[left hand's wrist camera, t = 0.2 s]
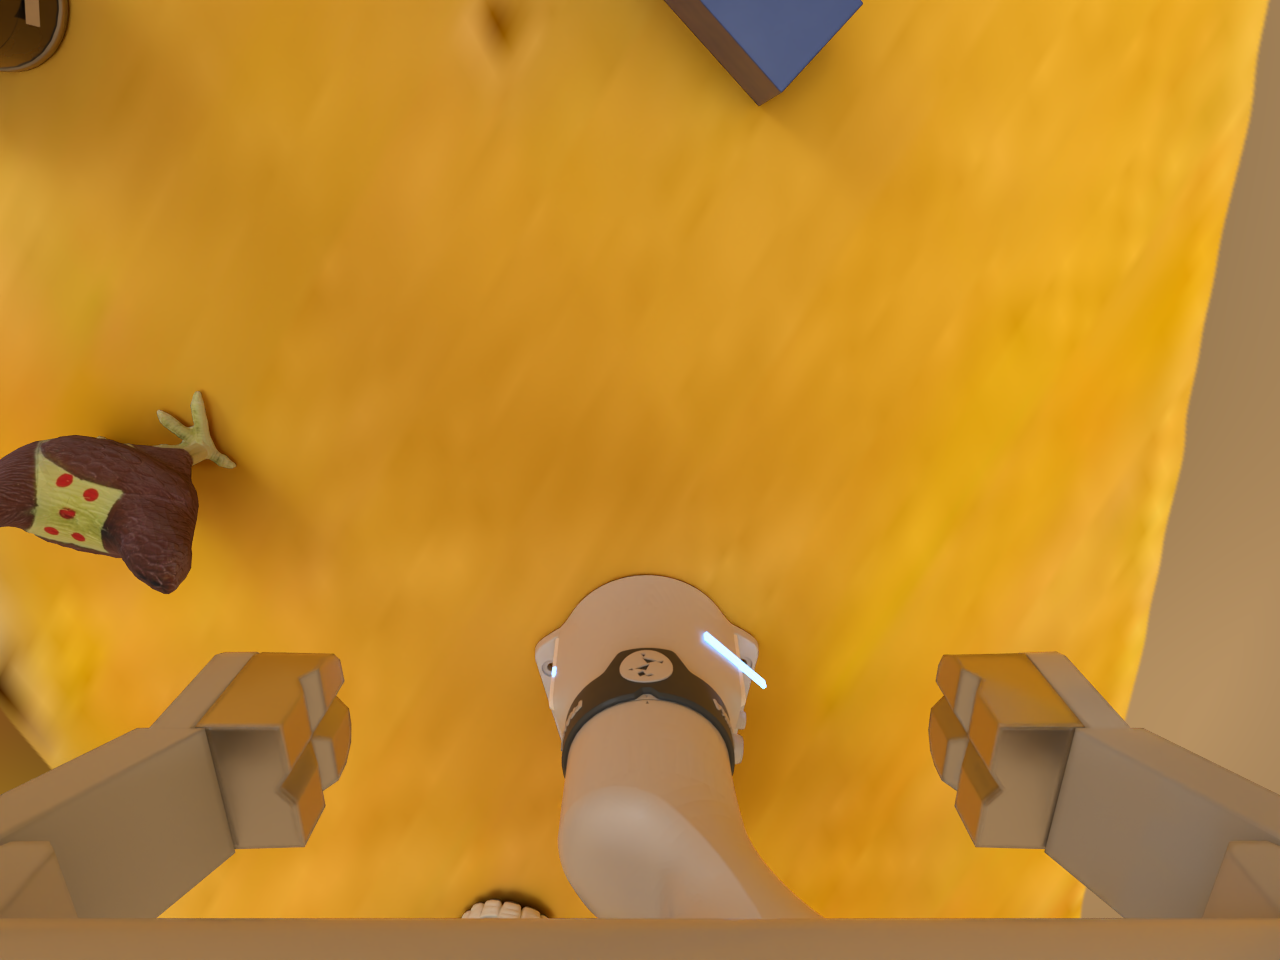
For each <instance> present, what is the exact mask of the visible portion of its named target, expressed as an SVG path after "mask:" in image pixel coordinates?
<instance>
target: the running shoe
mask: <svg viewBox="0 0 1280 960" xmlns="http://www.w3.org/2000/svg"><path fill="white" fill-rule="evenodd" d="M462 918H548V917H547V916H545V915H544V914H540V913H539V912H538V911H537V910H535V909H534V908H532V907H528V906H525V907H524V908H523V909H522V910H521V906H520V905H519V903H517V902H515V901H507V902H504V904H503V906H502V903H501V900H500V899H490V900H488V901H486V902H485V903H483V902H478V903H476V904H475V905H473V906H472V908H471V910H468V911H466V912H465V913H464V914H463V916H462Z"/></svg>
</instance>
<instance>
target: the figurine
mask: <svg viewBox="0 0 1280 960" xmlns="http://www.w3.org/2000/svg"><path fill="white" fill-rule="evenodd" d="M190 406H191V410H192V418H193V422H194V426H192V427H186V426H184V425H183V424H182V423H180V422H179V421H178V420H177V419H175V418H174V417H173V416H171V415H170V414H168V413H166V412H164V411H161V410H158V411H157V416H158V418H159V421H160V423H161V424H162V425H163V426H164V427H166V428H167V429H168V430H170V431H171V432H172V433H174V434H176V435H177V436H178V437H179V438H181V439H182V442H181V443H180V444H179V445H167V444H160V445H156V446H146V445H133V444H122V443H118V442H116V441H113V440H109V439H107V438H105V437H102V436H98V437H97V438H94V437H87V436H79V435H72V436H62V437H58V438H55V439H48V440H43V441H36V442H33V443H30V444H27V445H25V446H23V447H20V448H18V449H16V450H15V451H13V452H11V453H10V454H8V455H6V456H5V457H3V458H2V459H0V527H5V526H11V527H17V528H21V529H23V530H24V531H26V532H29V533H33V534H35V535H36V536H38V537H39V538H41V539H43V540H45V541H47V542H51V543H55V544H58V545H61V546H63V547H69V548H73V549H75V550H77V551H83V552H89V553H94V554H102V555H107V556H111V557H115V558H122V559H123V561H124V562H125V563H126V565H127V567H128V568H129V570H130V571H131V572H132V573H133V574H134V575H135V576H136V577H137V578H138V579H139V580H141V581H143V582H144V583H146V584H147V585H148V586H150V587H151V588H152V589H154V590H157V591H159V592H161V593H163V594H169V593H171V592H173V591H175V590H176V589H177V587H178V586H179V585H180V583H181V582H182V581H183V580H184V579H185V578H186V576H187V574H188V573H189V571H190V569H191V561H192V550H191V548H192V541H193V536H194V530H195V525H196V521H197V513H198V507H199V504H198V497H197V492H196V490H195V488H194V486H193V484H192V480H191V467H192V465H195V464H197V463H199V462H201V461H202V460H204V459H210V460H211V461H213V462H215V463H216V464H217V465H218V466H221V467H225V468H231V469H232V468H234V467H236V464H235V463H234V462H233V461H231V460H230V459H229V458H228V456H226V455H224V454H221V453H220V452H219V451H218V450H217V449H216V447H215V444H214V442H213V440H212V438H211V436H210V432H209V425H208V419H207V416H206V411H205V405H204V401H203V399H202V394H201V392H200V391H196V392H195V393H194V395H193V399H192V402H191V405H190Z"/></svg>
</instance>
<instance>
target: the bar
mask: <svg viewBox="0 0 1280 960" xmlns="http://www.w3.org/2000/svg"><path fill="white" fill-rule="evenodd" d="M664 1H665V2H666V3H667V4H668V5H669V6H670V8H671V9H672V10H673V11H674V12H675V13H676V14H677V15H678V16H679V18H680V19H681V20H682V21H683V22H684V23H685V24H686V25H687V27H688V28H689V29H690V30H691V31H692V32H693V33H694V34H695V35H696V37H697V38H698V39H699V40H700V41H701V42H702V43H703V44H704V46H705V47H706V48H707V49H708V50H709V51H710V52H711V53H712V54H713V56H714V57H715V58H716V59H717V60H718V61H719V62H720V63H721V65H722V66H723V67H724V68H725V69H726V70H727V71H728V72H729V73H730V75H731V76H732V77H733V78H734V79H735V80H736V81H737V82H738V84H739V85H740V86H741V87H742V88H743V89H744V90H745V91H746V92H747V94H748V95H749V96H750V97H751V98H752V99H753V100H754V101H755V102H756V104H757V105H758V106H760V105H762V104H763V103H765V102H767V101H768V100H770V99H772V98H773V97H775V96H777V95H778V94H780V93H781V92H783V91H784V90H785V88H786V87H787V86H788V85H789V84H790V83H791V82H792V81H793V80H794V79H795V78H796V76H797V75H798V74H799V73H800V72H801V71H802V70H803V69H804V68H805V67H806V66H807V64H808V63H809V62H810V61H811V60H812V59H813V58H814V57H815V56H816V55H817V54H818V52H819V51H820V50H821V49H822V48H823V47H824V46H825V45H826V44H827V43H828V42H829V40H830V39H831V38H832V37H833V36H834V35H835V34H836V33H837V32H838V31H839V30H840V28H841V27H842V26H843V25H844V24H845V23H846V22H847V21H848V20H849V19H850V18H851V17H852V15H853V14H854V13H855V12H856V11H857V10H858V9H859V8H860V7H861V6H862V4H863V2H862V1H861V0H664Z"/></svg>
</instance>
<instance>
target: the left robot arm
mask: <svg viewBox="0 0 1280 960" xmlns="http://www.w3.org/2000/svg"><path fill="white" fill-rule="evenodd" d="M758 653H759V651H758V643H757V641H756V639H755V638H754V637H753V636H752V635H750V634H749V633H747V632H746V631H744V630H742V629H740V628H738V627H736V626H735V625H733V624H731V623H730V622H729V621H728V620H727V619H726V617H725V616H724V615H723V614H722V612H721V611H720V610H719V608H718V607H717V606H716V605H715V603H714V602H713V601H712V600H711V599H710V598H709V597H707V596H706V595H705V594H704V593H702V592H701V591H700V590H698V589H696V588H695V587H693V586H691V585H689V584H687V583H684V582H682V581H679V580H676V579H673V578H669V577H664V576H656V575H638V576H630V577H625V578H621V579H618V580H615V581H612V582H609V583H607V584H605V585H603V586H601V587H599V588H597V589H596V590H594V591H593V592H591V593H590V594H589V595H587V596H586V597H585V598H584V599H583V600H582V601H581V602H580V603H579V604H578V605H577V606H576V608H575V609H574V610H573V612H572V613H571V615H570V616H569V618H568V619H567V621H566V622H565V623H564V624H563V625H562V626H561V627H560V628H559V629H557V630H555V631H554V632H552V633H550V634H549V635H547V636H546V637H544V638H543V639H542V640H540V641H539V642H538V644H537V645H536V648H535V660H536V663H537V666H538V669H539V672H540V676H541V679H542V682H543V685H544V688H545V691H546V694H547V697H548V701H549V707H550V709H551V710H552V713H553V716H554V719H555V723H556V726H557V729H558V732H559V735H560V738H561V741H562V743H561V751H562V769H563V774H564V778H565V784H564V792H563V800H562V808H561V817H560V825H559V833H558V850H559V857H560V861H561V864H562V867H563V870H564V873H565V875H566V877H567V879H568V881H569V882H570V884H571V886H572V887H573V889H574V890H575V892H576V893H577V895H578V896H579V898H580V899H581V900H582V902H583V903H584V904H585V905H586V907H587V908H588V909H589V910H590V911H591V912H592V913H593V914H594V915H595V916H596V917H598V918H157V917H158V916H159V915H161V914H162V913H163V912H164V911H165V910H167V909H168V908H169V907H170V906H171V905H173V904H174V903H175V902H176V901H177V900H179V899H180V898H181V897H182V896H183V895H185V894H186V893H187V892H188V891H189V890H191V889H192V888H193V887H194V886H196V885H197V884H198V883H199V882H200V881H202V880H203V879H204V878H205V877H206V876H208V875H209V874H210V873H211V872H212V871H214V870H215V869H216V868H217V867H218V866H220V865H221V864H222V863H223V862H225V861H226V860H227V859H228V858H229V857H231V856H232V855H233V854H234V853H235V849H251V848H286V847H305V845H306V843H307V841H308V839H309V837H310V835H311V833H312V831H313V829H314V827H315V825H316V824H317V822H318V820H319V818H320V816H321V814H322V812H323V810H324V808H325V801H324V795H323V791H324V790H325V789H326V788H328V787H329V786H331V785H332V784H334V783H335V782H337V781H338V780H339V778H340V776H341V774H342V772H343V769H344V767H345V765H346V763H347V758H348V753H349V749H350V744H351V719H350V712H349V708H348V707H347V706H346V705H345V704H344V703H343V702H342V701H341V700H340V699H339V698H338V697H337V696H336V695H337V693H338V691H339V689H340V688H341V686H342V684H343V682H344V677H343V672H342V667H341V662H340V659H338V658H337V657H336V656H335V655H334V654H323V653H275V652H262V653H258V652H224V653H221V654H217V655H215V656H214V657H213V658H212V659H211V660H210V661H209V663H208V664H207V665H206V666H205V667H204V668H203V669H202V670H201V671H200V673H199V674H198V675H197V676H196V677H195V678H194V679H193V680H192V681H191V682H190V684H189V685H188V686H187V687H186V688H185V689H184V690H183V691H182V692H181V694H180V695H179V696H178V697H177V698H176V699H175V700H174V701H173V702H172V703H171V705H170V706H169V707H168V708H167V709H166V710H165V711H164V712H163V713H162V715H161V716H160V717H159V718H158V719H157V720H156V721H155V722H154V723H153V724H152V726H151V727H150V728H136V729H134V730H132V731H130V732H128V733H126V734H124V735H122V736H120V737H118V738H116V739H114V740H112V741H110V742H108V743H105V744H103V745H101V746H99V747H97V748H95V749H93V750H91V751H89V752H87V753H85V754H83V755H81V756H79V757H77V758H75V759H73V760H71V761H69V762H67V763H65V764H63V765H61V766H58V767H56V768H54V769H52V770H50V771H48V772H46V773H44V774H42V775H40V776H38V777H36V778H34V779H32V780H30V781H28V782H26V783H24V784H22V785H20V786H18V787H16V788H14V789H11V790H9V791H7V792H5V793H3V794H1V795H0V960H1280V795H1278V794H1276V793H1274V792H1272V791H1270V790H1268V789H1266V788H1264V787H1262V786H1260V785H1258V784H1256V783H1254V782H1252V781H1250V780H1248V779H1246V778H1244V777H1242V776H1240V775H1238V774H1235V773H1234V772H1231V771H1229V770H1227V769H1225V768H1223V767H1221V766H1219V765H1217V764H1215V763H1213V762H1211V761H1209V760H1207V759H1205V758H1203V757H1201V756H1199V755H1197V754H1195V753H1193V752H1191V751H1189V750H1187V749H1185V748H1183V747H1181V746H1178V745H1176V744H1174V743H1172V742H1170V741H1168V740H1166V739H1164V738H1162V737H1160V736H1158V735H1156V734H1154V733H1152V732H1150V731H1148V730H1146V729H1144V728H1130V727H1129V726H1128V724H1127V723H1126V722H1125V721H1124V720H1123V719H1122V718H1121V717H1120V716H1119V715H1118V713H1117V712H1116V711H1115V710H1114V709H1113V708H1112V707H1111V706H1110V705H1109V703H1108V702H1107V701H1106V700H1105V699H1104V698H1103V697H1102V696H1101V695H1100V694H1099V692H1098V691H1097V690H1096V689H1095V688H1094V687H1093V686H1092V685H1091V684H1090V682H1089V681H1088V680H1087V679H1086V678H1085V677H1084V676H1083V675H1082V674H1081V673H1080V671H1079V670H1078V669H1077V668H1076V667H1075V666H1074V665H1073V664H1072V663H1071V661H1070V660H1069V659H1068V658H1067V657H1066V656H1065V655H1063V654H1060V653H1058V652H1027V653H1013V654H960V655H943V657H942V659H941V661H940V663H939V665H938V671H937V676H936V682H937V684H938V686H939V688H940V689H941V691H942V693H943V695H944V696H943V697H942V698H941V699H940V700H939V701H938V702H937V703H936V704H935V705H934V706H933V707H932V708H931V713H930V721H929V729H928V731H929V742H930V751H931V755H932V758H933V762H934V765H935V767H936V770H937V772H938V774H939V776H940V778H941V780H942V781H943V782H945V783H946V784H948V785H949V786H951V787H952V788H954V789H955V790H956V791H957V795H956V801H955V808H956V810H957V812H958V814H959V816H960V818H961V820H962V821H963V823H964V825H965V827H966V829H967V831H968V833H969V835H970V837H971V839H972V841H973V843H974V845H975V847H992V848H1028V849H1045V853H1046V854H1047V855H1049V856H1050V857H1051V858H1052V859H1053V860H1055V861H1056V862H1057V863H1058V864H1059V865H1061V866H1062V867H1063V868H1064V869H1065V870H1067V871H1068V872H1069V873H1070V874H1072V875H1073V876H1074V877H1075V878H1076V879H1078V880H1079V881H1080V882H1081V883H1082V884H1084V885H1085V886H1086V887H1087V888H1088V889H1090V890H1091V891H1092V892H1093V893H1094V894H1096V895H1097V896H1098V897H1099V898H1100V899H1102V900H1103V901H1104V902H1105V903H1106V904H1108V905H1109V906H1110V907H1111V908H1112V909H1114V910H1115V911H1116V912H1117V913H1118V914H1120V915H1121V916H1122V917H1123V918H824V917H823V916H821V915H820V914H818V913H817V912H815V911H814V910H813V909H811V908H810V907H809V906H808V905H807V904H805V903H804V902H803V901H802V900H801V899H799V898H798V897H797V896H796V895H795V894H794V893H793V892H792V891H791V890H790V889H789V888H788V887H787V886H786V885H784V884H783V883H782V881H781V880H780V879H779V878H778V877H777V876H776V875H775V874H774V873H773V872H772V871H771V870H770V868H769V867H768V866H767V865H766V863H765V862H764V861H763V860H762V858H761V857H760V855H759V854H758V852H757V851H756V850H755V848H754V847H753V845H752V843H751V841H750V839H749V837H748V835H747V833H746V830H745V827H744V824H743V820H742V817H741V813H740V810H739V806H738V802H737V798H736V793H735V788H734V783H733V779H732V775H733V772H734V765H735V764H739V763H741V761H742V757H743V747H744V744H743V737H742V736H740V735H738V734H737V732H738V729H745V726H746V713H745V712H744V711H743V710H744V706H745V703H746V699H747V695H748V691H749V688H750V684H751V680H753V681H755V682H756V683H757V684H758V685H759V686H761V687H762V688H763V689H764V688H765V687H766V683H765V680H764V679H763V678H761V677H760V676H759V675H758V674H757V673H755V672H754V669H755V665H756V662H757V658H758ZM741 659H744V660H745V661H744V662H742V661H741ZM549 663H553V666H550V665H549Z"/></svg>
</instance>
